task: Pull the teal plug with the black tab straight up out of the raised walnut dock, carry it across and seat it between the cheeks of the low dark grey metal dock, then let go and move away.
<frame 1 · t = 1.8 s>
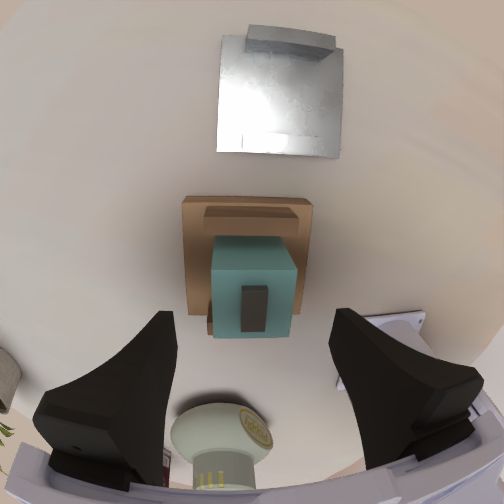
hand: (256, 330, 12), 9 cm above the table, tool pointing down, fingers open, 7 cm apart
house plant: (12, 361, 23), on the table
air freshener: (222, 416, 28), on the table
plug: (246, 264, 18), point 2 cm above the table, touching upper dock
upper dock: (244, 252, 20), on the table
lower dock: (281, 94, 16), on the table
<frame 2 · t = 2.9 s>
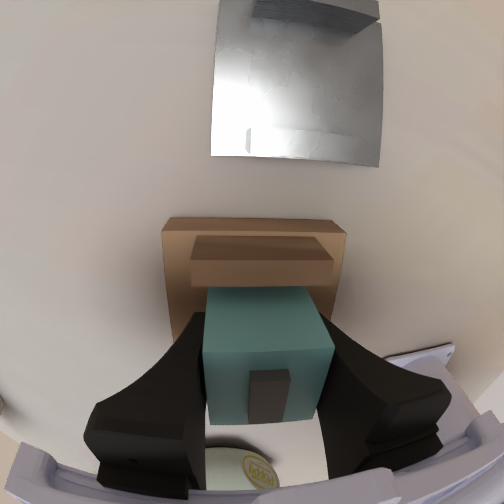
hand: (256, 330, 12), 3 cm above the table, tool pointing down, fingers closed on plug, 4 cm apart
air freshener: (222, 456, 23), on the table
plug: (253, 312, 13), point 2 cm above the table, touching gripper, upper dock
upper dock: (249, 291, 15), on the table
lower dock: (302, 77, 11), on the table
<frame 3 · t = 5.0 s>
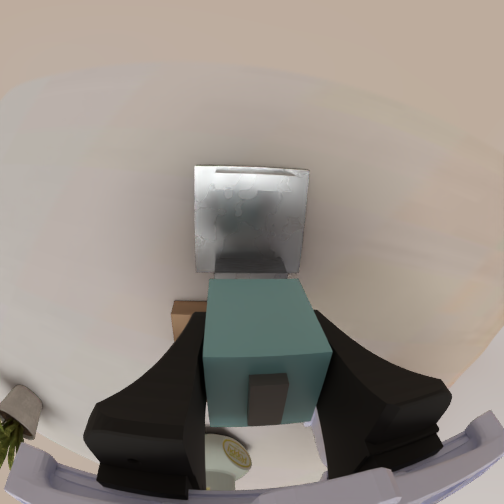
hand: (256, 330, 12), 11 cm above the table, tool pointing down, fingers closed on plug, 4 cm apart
house plant: (33, 395, 28), on the table
air freshener: (211, 442, 33), on the table
plug: (252, 315, 14), point 9 cm above the table, touching gripper
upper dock: (222, 338, 25), on the table
lower dock: (249, 220, 21), on the table
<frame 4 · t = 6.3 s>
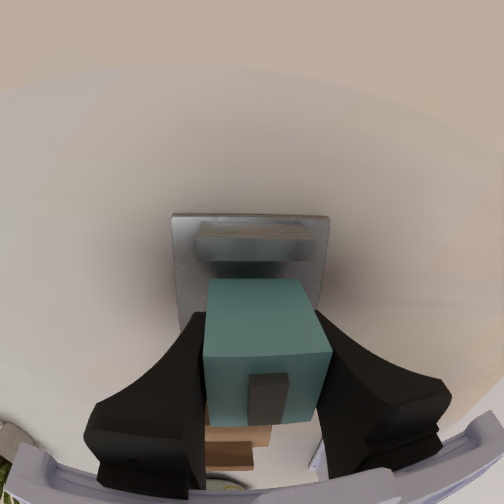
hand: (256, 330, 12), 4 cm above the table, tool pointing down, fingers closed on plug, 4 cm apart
house plant: (24, 433, 23), on the table
air freshener: (210, 483, 28), on the table
plug: (252, 315, 13), point 3 cm above the table, touching gripper
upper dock: (218, 404, 20), on the table
lower dock: (248, 284, 16), on the table
when the fingers open (4 cm above the table, at t = 7.3 s): plug drops 1 cm, resting on lower dock.
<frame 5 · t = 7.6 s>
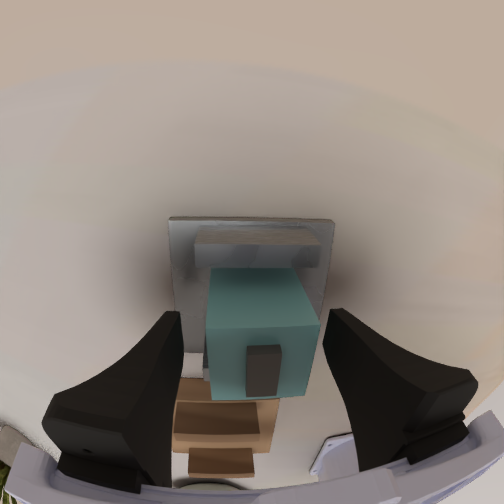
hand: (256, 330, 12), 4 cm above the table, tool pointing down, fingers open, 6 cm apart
house plant: (23, 436, 22), on the table
air freshener: (210, 487, 27), on the table
plug: (250, 300, 15), point 1 cm above the table, touching lower dock
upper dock: (218, 411, 19), on the table
lower dock: (249, 290, 15), on the table
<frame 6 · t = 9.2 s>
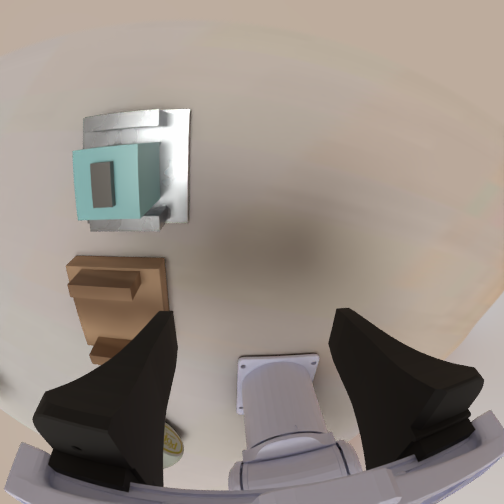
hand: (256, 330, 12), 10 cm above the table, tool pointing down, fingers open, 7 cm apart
air freshener: (144, 423, 30), on the table
plug: (132, 171, 18), point 1 cm above the table, touching lower dock
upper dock: (124, 299, 23), on the table
lower dock: (134, 167, 18), on the table
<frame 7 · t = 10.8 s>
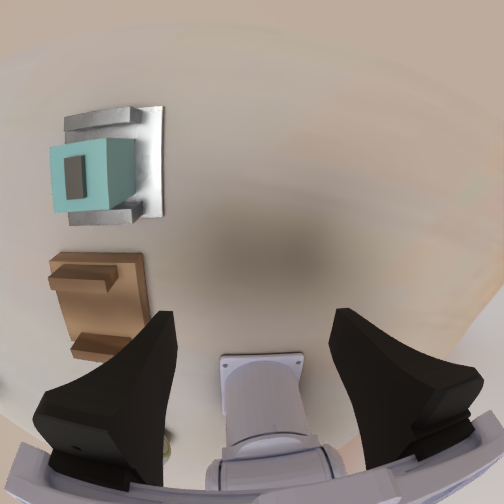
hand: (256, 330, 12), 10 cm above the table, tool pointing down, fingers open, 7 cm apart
plug: (109, 168, 18), point 1 cm above the table, touching lower dock
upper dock: (105, 295, 22), on the table
lower dock: (112, 164, 19), on the table
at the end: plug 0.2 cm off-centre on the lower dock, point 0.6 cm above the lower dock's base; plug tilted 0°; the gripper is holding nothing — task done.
